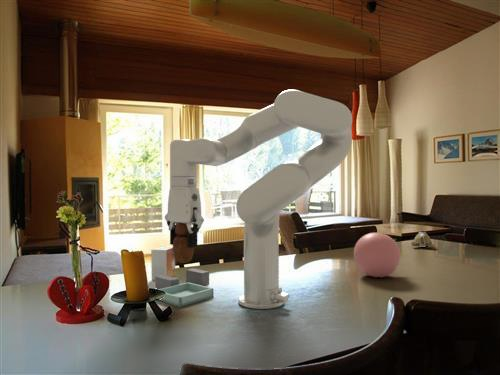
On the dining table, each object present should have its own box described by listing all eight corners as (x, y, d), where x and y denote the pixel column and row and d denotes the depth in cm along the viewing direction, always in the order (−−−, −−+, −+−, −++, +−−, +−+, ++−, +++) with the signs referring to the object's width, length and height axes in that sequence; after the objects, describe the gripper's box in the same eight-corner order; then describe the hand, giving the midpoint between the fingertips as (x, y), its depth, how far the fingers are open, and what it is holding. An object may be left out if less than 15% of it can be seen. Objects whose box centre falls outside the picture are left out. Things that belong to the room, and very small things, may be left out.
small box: (166, 281, 134) (166, 250, 133) (151, 280, 135) (150, 249, 135) (175, 275, 141) (175, 246, 141) (161, 275, 143) (160, 245, 142)
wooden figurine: (171, 260, 116) (171, 208, 116) (190, 258, 118) (190, 208, 118) (175, 264, 109) (175, 210, 109) (195, 263, 111) (195, 209, 111)
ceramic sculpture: (433, 228, 205) (434, 234, 191) (433, 245, 206) (434, 251, 192) (411, 228, 209) (410, 233, 195) (411, 244, 210) (411, 250, 196)
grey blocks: (209, 283, 130) (209, 271, 130) (171, 293, 118) (171, 280, 118) (193, 280, 135) (192, 268, 135) (155, 289, 123) (154, 276, 123)
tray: (213, 297, 115) (213, 288, 115) (180, 307, 105) (179, 297, 105) (188, 290, 122) (188, 282, 122) (154, 299, 113) (154, 290, 113)
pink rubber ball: (415, 275, 140) (415, 231, 140) (384, 284, 127) (384, 236, 127) (376, 268, 152) (376, 228, 152) (344, 276, 139) (344, 232, 139)
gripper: (214, 183, 110) (214, 247, 111) (174, 183, 122) (174, 241, 122) (193, 183, 105) (193, 250, 105) (154, 183, 116) (154, 244, 116)
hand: (183, 245), depth 114 cm, fingers closed on wooden figurine, 7 cm apart
